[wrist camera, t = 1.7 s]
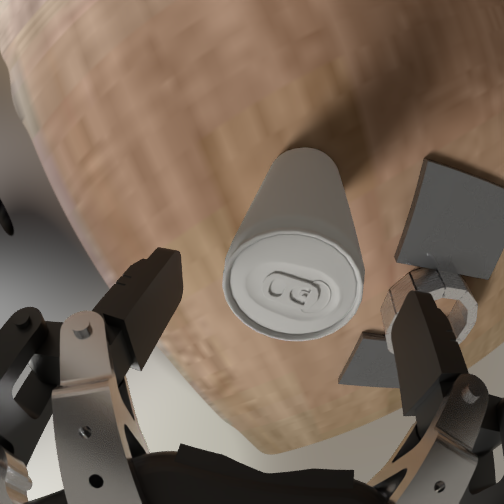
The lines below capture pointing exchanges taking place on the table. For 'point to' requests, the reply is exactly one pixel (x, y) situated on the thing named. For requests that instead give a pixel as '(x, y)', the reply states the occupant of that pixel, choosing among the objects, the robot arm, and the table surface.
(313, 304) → the beverage can
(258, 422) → the table surface
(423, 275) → the hinge model
